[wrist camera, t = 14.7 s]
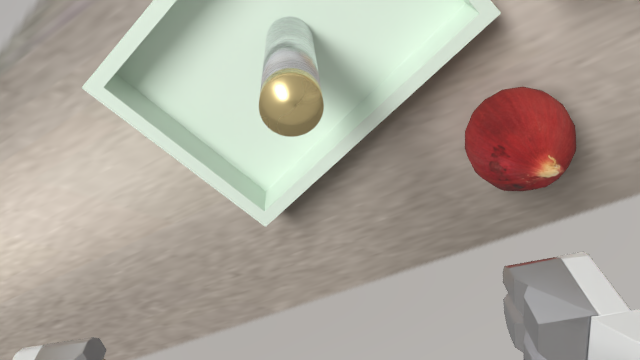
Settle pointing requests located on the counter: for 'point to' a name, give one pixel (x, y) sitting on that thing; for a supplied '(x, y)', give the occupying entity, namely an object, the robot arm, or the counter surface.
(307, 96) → the steel pin
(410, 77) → the tray
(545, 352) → the robot arm
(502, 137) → the onion
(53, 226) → the counter surface
